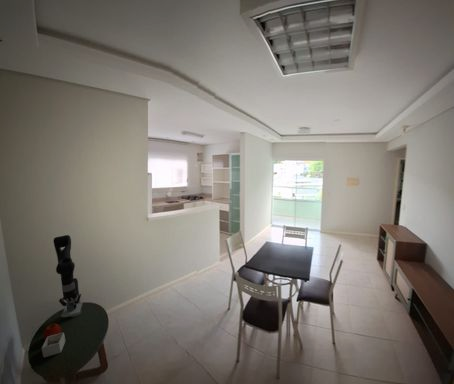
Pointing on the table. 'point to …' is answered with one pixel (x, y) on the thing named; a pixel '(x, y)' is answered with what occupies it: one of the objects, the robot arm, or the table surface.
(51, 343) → the storage box
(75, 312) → the lid
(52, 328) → the apple
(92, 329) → the table surface
